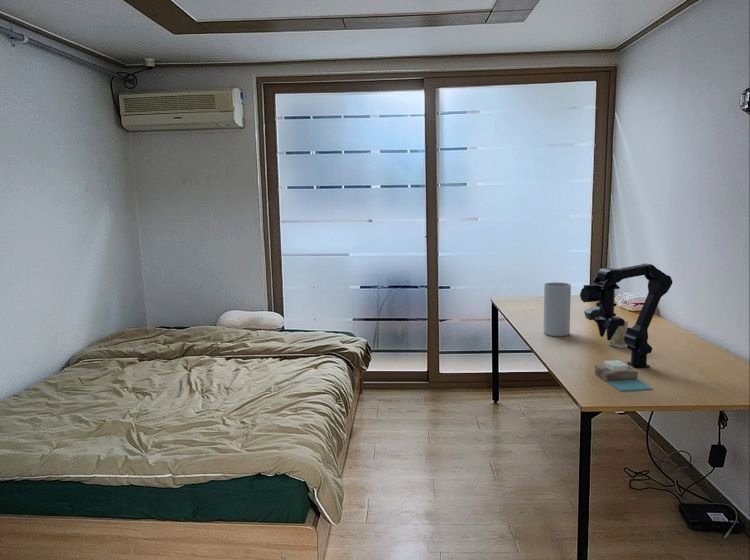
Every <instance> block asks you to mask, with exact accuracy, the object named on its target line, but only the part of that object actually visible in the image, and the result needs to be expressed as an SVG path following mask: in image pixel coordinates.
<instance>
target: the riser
mask: <svg viewBox="0 0 750 560" xmlns="http://www.w3.org/2000/svg"><path fill="white" fill-rule="evenodd" d="M594 374H595V376H597V377H599V378H600V379H602V380H603V381H605V382H606V383H608V381H623V380H639V379H638V378H639V377H638V376H639V375H638V374H639V371H638V370H636V369H634V368H633V367H632V366H631V367H630V365H628V370H627V371H611V370H610V369H608V368H606V367H605V366H604V364H600V365H594Z"/></svg>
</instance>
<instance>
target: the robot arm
mask: <svg viewBox="0 0 750 560" xmlns="http://www.w3.org/2000/svg"><path fill="white" fill-rule="evenodd" d="M641 276H644V278H645V279H646V280H647V281H648V282H647V290H648V294H647V295H646V297H645V300H644V303H643V305H642V308H641V310H640V311H639V315H638V317H637V319H636V320H635V321H636V322H635V323H634V325H633V326H632V327H630V326H628V327H627V331H626V333H625V335H624V336H625V338H624V341H625V344H626V348H627V349H628V350H629V351H630V361H627V362H626V363H627V364H628V366H631V367H632V368H633V369H634V368H635V369H638V368H650V367H651V366H650V365H649V364H648V363H647V361H648V355H649V354H651V353H652V351H653V347H652V346H651V345H650V344H649V342H648V340H649V331H648V329H649V326H650V325H651V322H652V320H653V318H654V315H655V313H656V310H657V308H658V305H659V304H660V301H661V298H662V297H663V296H664V295H666V294H667V293H668V292H669V290H670V288H671V287H672V285H673V279H672V277H671V275H669V274H666V273H665V272H663V271H662V270H661V269H658V268H657V267H656V266H655V265H653V264H651V263H642V264H638V265H632V266H627V267H622V268H613V267H612V268H611V267H602V268H600V269H599V270H598V272H597V274H596V276H595V277H594V279H593V280H592V282H591V284H584V285H583V288H581V290H580V292H579V297H580V300H581V301H582V303H590V302H591V303H592V302H595V303H596V304H595V306H593V307H589V308H587V309H585V310H583V313H584V316H585V319H586V320H587V319H588V320H589V321H594V322H595V323H596V326H597V329H598V333H599V336H600V338H602V337H604V336H605V334H606V340H607V341H610V340H611V338H612V336H613V335H614V333H615V331H616V330H617V328H618V327H619V326H625V321H626V320H625V319H624V318H622V317H620V316H617V313H615V307H616V306H617V303H616V302H615V295H616V293H615V292H616V290H619V289H621V287H620V286H619V285H618V283H620V282H621V281H622V280H625V279H629V278H634V277H635V278H636V277H641ZM627 364H626V365H627Z"/></svg>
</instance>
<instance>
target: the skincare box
mask: <svg viewBox="0 0 750 560" xmlns="http://www.w3.org/2000/svg"><path fill="white" fill-rule="evenodd" d="M628 324H629V321H628V320H625V326H619V327H618V328H617V330H616V331H615V333H614V335H613V336H612V338H611V340H609V347H614V348H618V349H623V348H627V345H626V344H625V341H624V338H625V336H624V335H625V333H626V331H627V328H628V327H629V325H628Z"/></svg>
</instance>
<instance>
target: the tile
mask: <svg viewBox="0 0 750 560" xmlns="http://www.w3.org/2000/svg"><path fill="white" fill-rule="evenodd" d="M603 365H604V366H605V367H606V368H608V369H610V370H611V371H627V370H628V366H629V364H628V365H627V364H626V363H624V362H623V361H621V360H619V359H617V360H615V359H614V360H603Z"/></svg>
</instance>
